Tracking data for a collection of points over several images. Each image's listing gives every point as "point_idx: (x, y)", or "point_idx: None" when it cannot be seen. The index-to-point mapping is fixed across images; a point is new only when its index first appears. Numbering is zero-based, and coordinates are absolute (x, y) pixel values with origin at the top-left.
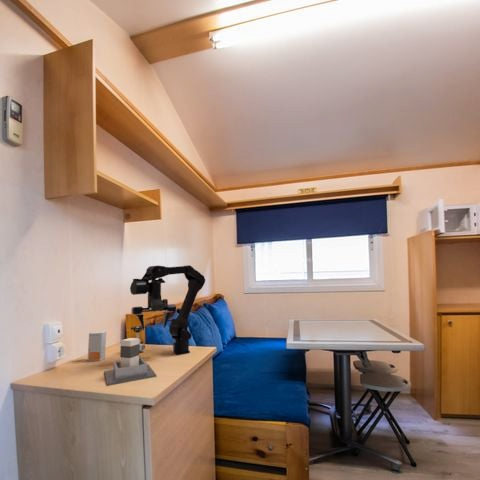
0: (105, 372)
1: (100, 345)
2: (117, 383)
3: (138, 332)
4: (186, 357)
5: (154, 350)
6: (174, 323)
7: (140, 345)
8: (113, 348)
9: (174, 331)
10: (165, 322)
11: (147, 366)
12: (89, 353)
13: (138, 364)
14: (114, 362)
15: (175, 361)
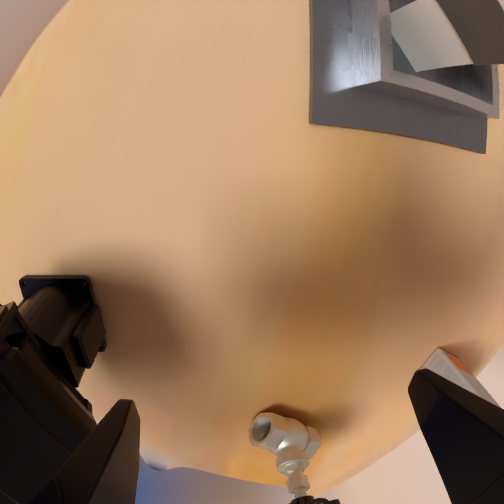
0: (485, 128)
1: (472, 385)
2: None
3: (298, 498)
4: (46, 180)
5: (201, 417)
6: (29, 464)
7: (279, 436)
8: (335, 471)
9: (43, 386)
10: (96, 456)
11: (324, 70)
12: (471, 373)
13: (401, 8)
14: (496, 103)
15: (123, 116)
